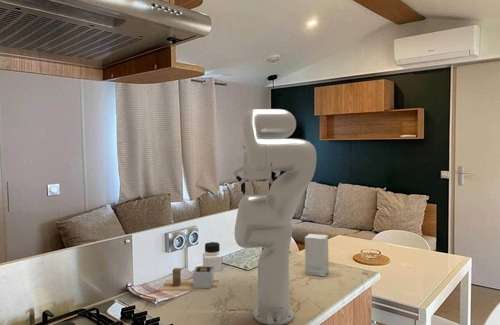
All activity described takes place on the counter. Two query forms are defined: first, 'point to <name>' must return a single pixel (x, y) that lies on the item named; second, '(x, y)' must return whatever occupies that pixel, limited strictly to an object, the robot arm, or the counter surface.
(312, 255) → the skincare box
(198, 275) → the grey open box
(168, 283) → the peg board
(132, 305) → the counter surface
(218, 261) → the medicine bottle
